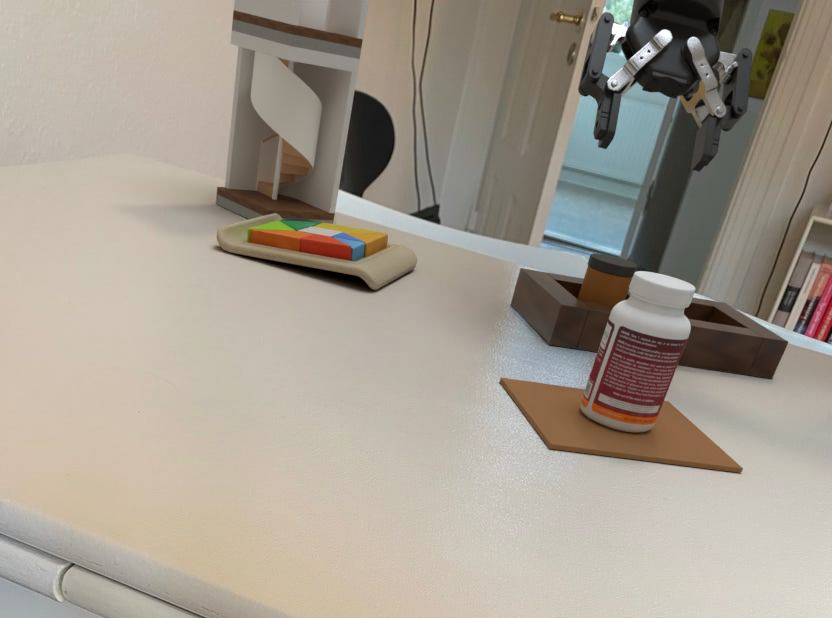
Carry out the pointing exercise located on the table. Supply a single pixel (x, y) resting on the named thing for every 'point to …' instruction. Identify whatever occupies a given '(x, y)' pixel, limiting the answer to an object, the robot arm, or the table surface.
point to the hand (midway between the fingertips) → (653, 154)
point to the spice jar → (606, 279)
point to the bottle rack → (585, 322)
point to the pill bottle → (639, 353)
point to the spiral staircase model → (291, 105)
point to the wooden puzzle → (320, 247)
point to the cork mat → (614, 430)
